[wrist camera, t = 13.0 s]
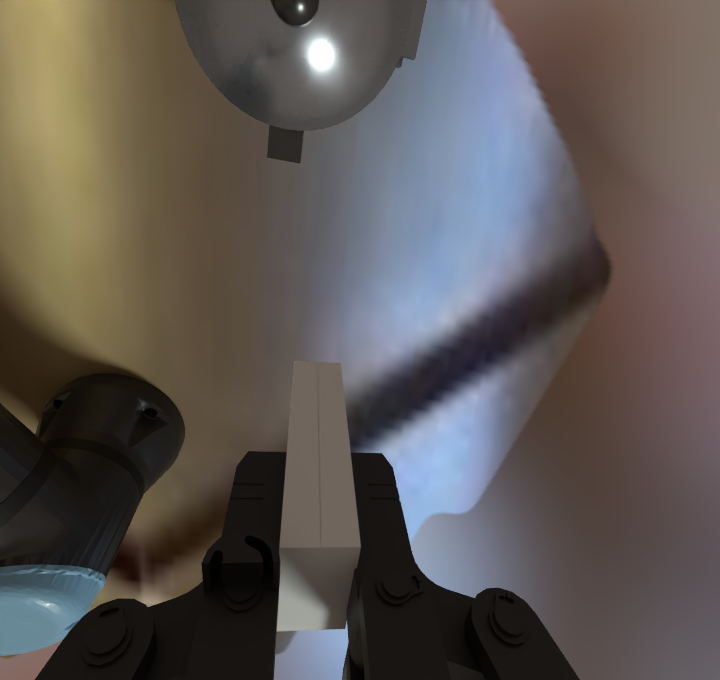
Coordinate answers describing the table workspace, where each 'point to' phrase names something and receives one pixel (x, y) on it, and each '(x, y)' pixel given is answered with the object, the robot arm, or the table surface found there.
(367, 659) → the robot arm
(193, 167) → the table surface
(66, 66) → the table surface
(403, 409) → the table surface
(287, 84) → the lid
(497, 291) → the table surface
